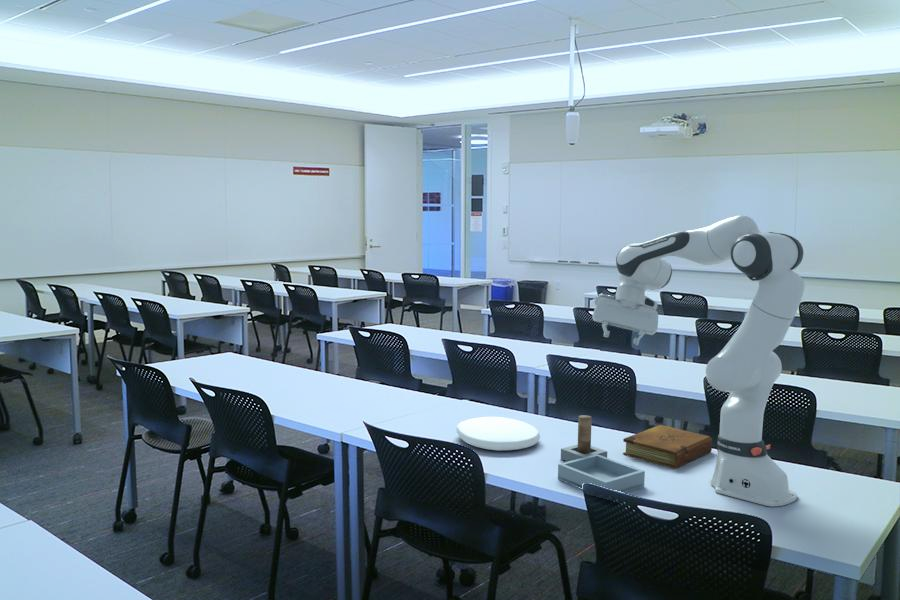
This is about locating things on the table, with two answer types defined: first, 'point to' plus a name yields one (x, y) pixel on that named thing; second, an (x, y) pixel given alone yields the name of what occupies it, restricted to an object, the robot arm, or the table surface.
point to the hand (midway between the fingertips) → (620, 340)
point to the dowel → (584, 434)
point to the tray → (601, 473)
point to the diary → (667, 446)
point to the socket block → (572, 453)
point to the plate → (497, 433)
